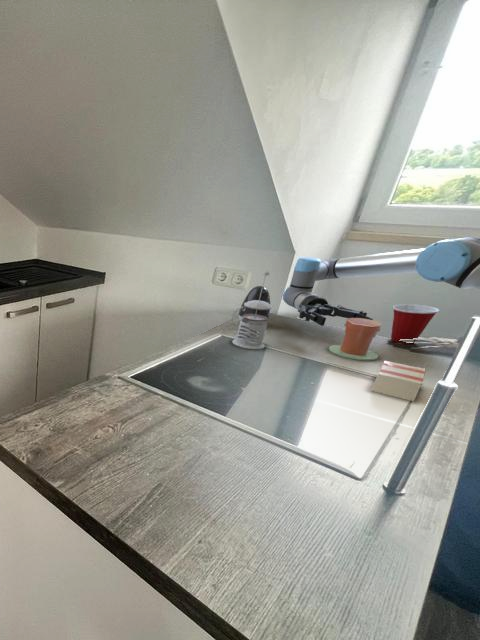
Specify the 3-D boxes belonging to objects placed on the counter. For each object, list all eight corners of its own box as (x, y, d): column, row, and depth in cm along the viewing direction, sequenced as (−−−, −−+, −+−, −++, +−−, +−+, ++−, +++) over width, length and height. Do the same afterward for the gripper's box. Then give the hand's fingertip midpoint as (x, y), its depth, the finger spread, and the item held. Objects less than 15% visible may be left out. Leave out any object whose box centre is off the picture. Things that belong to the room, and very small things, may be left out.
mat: (364, 347, 129) (364, 346, 128) (386, 361, 118) (387, 360, 118) (321, 344, 132) (322, 343, 131) (340, 358, 121) (340, 357, 121)
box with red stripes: (377, 376, 110) (384, 360, 108) (418, 385, 104) (425, 369, 102) (371, 390, 102) (378, 373, 100) (413, 401, 97) (422, 383, 95)
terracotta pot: (361, 347, 127) (372, 318, 123) (376, 357, 120) (388, 327, 116) (331, 345, 129) (341, 317, 125) (344, 355, 122) (355, 325, 118)
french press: (258, 351, 128) (278, 275, 118) (221, 342, 136) (237, 270, 126) (269, 344, 133) (289, 271, 123) (234, 335, 142) (250, 266, 132)
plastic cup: (381, 333, 140) (394, 300, 135) (424, 340, 133) (439, 306, 128) (378, 341, 133) (392, 307, 128) (423, 349, 126) (439, 313, 121)
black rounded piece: (241, 328, 149) (250, 289, 142) (232, 319, 158) (241, 282, 152) (271, 329, 146) (282, 289, 140) (260, 320, 156) (270, 283, 150)
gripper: (345, 315, 146) (385, 334, 127) (272, 313, 151) (301, 331, 132) (351, 295, 143) (394, 312, 124) (277, 294, 148) (308, 310, 128)
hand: (346, 322), depth 128 cm, fingers open, 13 cm apart
